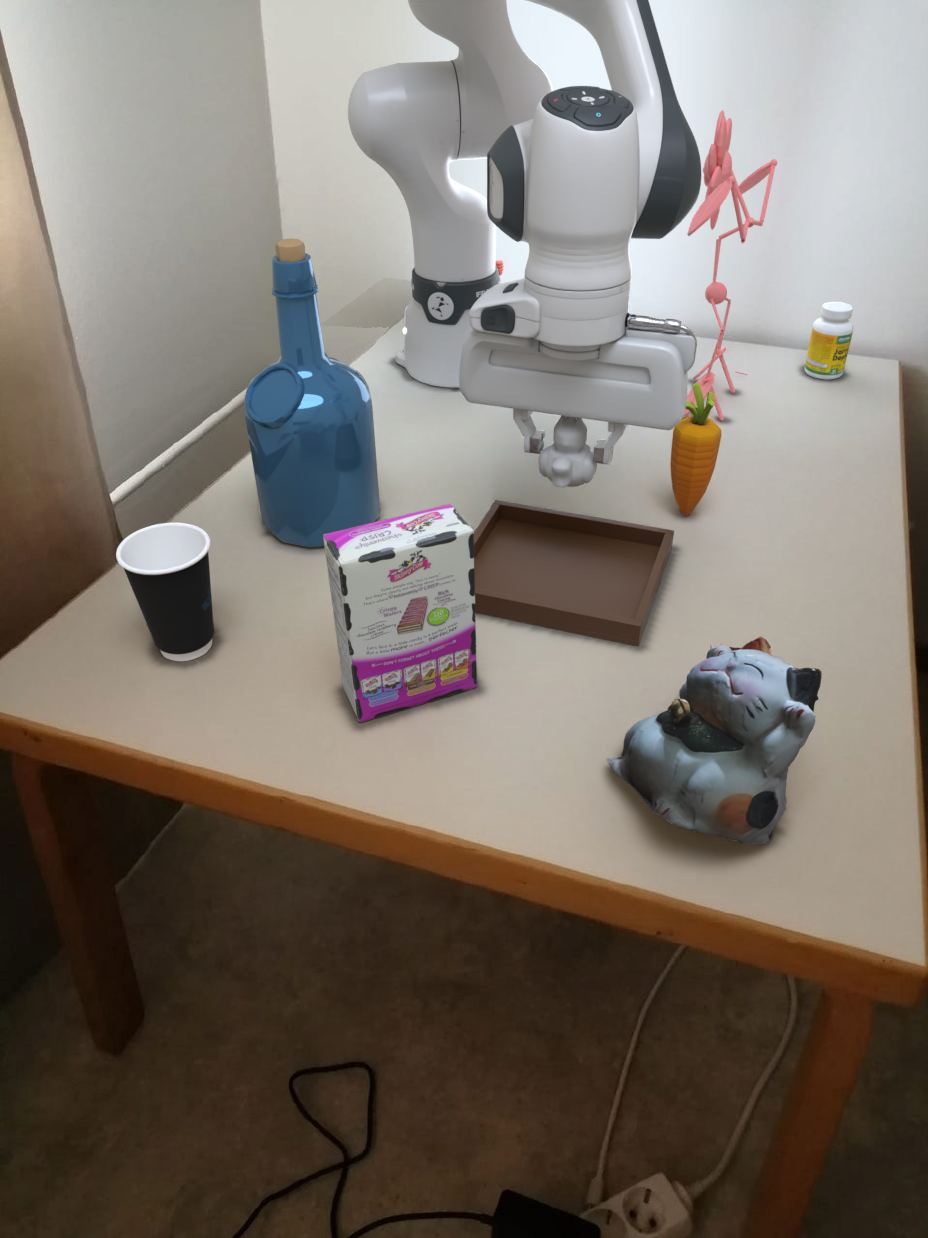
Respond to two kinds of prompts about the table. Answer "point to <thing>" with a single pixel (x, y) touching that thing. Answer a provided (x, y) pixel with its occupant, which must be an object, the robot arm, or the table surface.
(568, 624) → the serving tray
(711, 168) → the figurine
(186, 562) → the dixie cup
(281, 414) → the wine bottle
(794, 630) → the table surface
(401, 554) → the candy bar box
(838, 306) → the supplement bottle
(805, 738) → the lucky cat figurine
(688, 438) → the carrot
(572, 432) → the rubber duck
